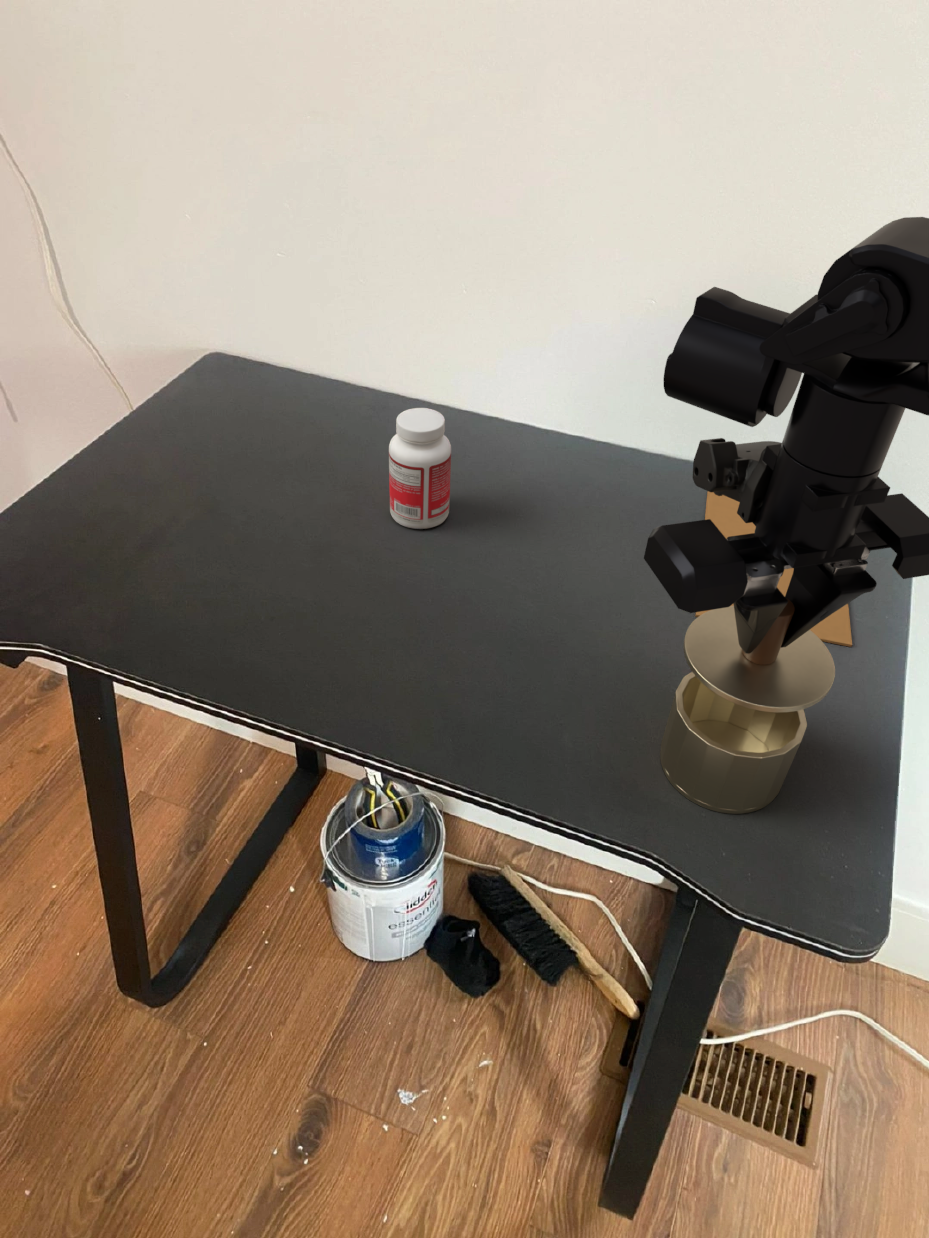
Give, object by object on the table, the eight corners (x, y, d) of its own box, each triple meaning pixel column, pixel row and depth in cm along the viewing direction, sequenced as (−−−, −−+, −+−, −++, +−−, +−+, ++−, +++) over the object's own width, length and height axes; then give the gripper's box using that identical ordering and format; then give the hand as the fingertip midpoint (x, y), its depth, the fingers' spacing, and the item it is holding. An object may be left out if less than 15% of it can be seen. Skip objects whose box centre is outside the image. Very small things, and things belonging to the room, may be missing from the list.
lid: (781, 607, 70) (802, 549, 66) (860, 704, 63) (889, 644, 59) (657, 627, 68) (672, 568, 64) (724, 731, 60) (746, 670, 57)
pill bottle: (443, 495, 98) (446, 402, 91) (454, 528, 94) (458, 433, 87) (385, 499, 97) (384, 405, 90) (393, 533, 93) (393, 437, 85)
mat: (838, 514, 99) (839, 512, 99) (851, 647, 83) (852, 644, 83) (707, 491, 101) (708, 489, 101) (695, 616, 85) (695, 614, 85)
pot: (744, 711, 76) (764, 655, 72) (805, 800, 70) (831, 743, 65) (640, 731, 74) (655, 674, 70) (693, 825, 67) (712, 768, 63)
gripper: (885, 375, 62) (815, 559, 72) (630, 400, 57) (594, 592, 68) (999, 462, 54) (902, 655, 64) (714, 498, 49) (659, 699, 60)
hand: (762, 646), depth 64 cm, fingers closed on lid, 2 cm apart
